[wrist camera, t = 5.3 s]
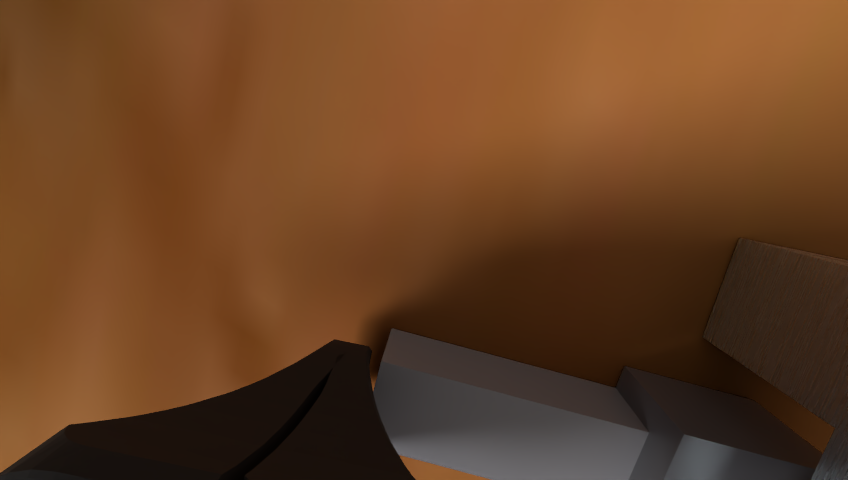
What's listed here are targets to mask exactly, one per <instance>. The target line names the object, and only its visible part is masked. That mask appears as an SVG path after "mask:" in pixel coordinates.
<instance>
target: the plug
mask: <svg viewBox="0 0 848 480" xmlns="http://www.w3.org/2000/svg"><path fill="white" fill-rule="evenodd" d="M373 395H374V398H375V402H376V406H377V409H378V412H379V415H380V418H381V420H382V423H383V425H384V428H385V430H386V432H387V434H388V437H389V439H390V441H391V443H392V444H393V446H394V448H395V450H396V451H397V453H398V455H402V456H406V457H409V458H413V459H417V460H421V461H424V462H428V463H432V464H436V465H439V466H443V467H447V468H451V469H454V470H458V471H462V472H466V473H469V474H473V475H477V476H481V477H484V478H488V479H492V480H811V478H812V476H813V474H814V472H815V470H816V468H817V465H818V463H819V461H820V459H821V457H822V455H823V454H822V453H821V452H820V451H818V450H817V449H816V448H814V447H813V446H812V445H811V444H809V443H808V442H807V441H805V440H804V439H803V438H802V437H800V436H799V435H798V434H797V433H795V432H794V431H793V430H791V429H790V428H789V427H788V426H786V425H785V424H784V423H782V422H781V421H780V420H779V419H777V418H776V417H775V416H773V415H772V414H771V413H770V412H768V411H767V410H766V409H764V408H763V407H762V406H761V405H759V404H758V403H757V402H755V401H754V400H750V399H747V398H743V397H739V396H735V395H732V394H728V393H724V392H720V391H717V390H713V389H709V388H705V387H702V386H698V385H694V384H690V383H687V382H683V381H679V380H675V379H672V378H668V377H664V376H660V375H657V374H653V373H649V372H645V371H642V370H638V369H634V368H630V367H627V366H624V369H623V371H622V374H621V376H620V379H619V381H618V383H617V386H616V388H615V387H611V386H607V385H603V384H600V383H596V382H592V381H588V380H585V379H581V378H577V377H573V376H570V375H566V374H562V373H558V372H555V371H551V370H547V369H543V368H539V367H536V366H532V365H528V364H524V363H521V362H517V361H513V360H509V359H506V358H502V357H498V356H494V355H491V354H487V353H483V352H479V351H476V350H472V349H468V348H464V347H461V346H457V345H453V344H449V343H446V342H442V341H438V340H434V339H431V338H427V337H423V336H419V335H416V334H412V333H408V332H404V331H401V330H397V329H393V328H392V329H391V332H390V335H389V338H388V342H387V345H386V348H385V351H384V354H383V357H382V361H381V364H380V368H379V372H378V376H377V380H376V383H375V387H374V391H373Z"/></svg>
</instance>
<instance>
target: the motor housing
mask: <svg viewBox="0 0 848 480" xmlns="http://www.w3.org/2000/svg"><path fill="white" fill-rule="evenodd" d="M702 337H703V338H705V339H706V340H708V341H709V342H710V343H712V344H713V345H715V346H716V347H718V348H719V349H721V350H722V351H724V352H725V353H726V354H728V355H729V356H731V357H732V358H734V359H735V360H737V361H738V362H740V363H741V364H742V365H744V366H745V367H747V368H748V369H750V370H751V371H753V372H754V373H756V374H757V375H758V376H760V377H761V378H763V379H764V380H766V381H767V382H769V383H770V384H772V385H773V386H774V387H776V388H777V389H779V390H780V391H782V392H783V393H785V394H786V395H788V396H789V397H790V398H792V399H793V400H795V401H796V402H798V403H799V404H801V405H802V406H804V407H805V408H806V409H808V410H809V411H811V412H812V413H814V414H815V415H817V416H818V417H820V418H821V419H822V420H824V421H825V422H827V423H828V424H830V425H831V426H833V427H834V428H835V430H834V432H833V434H832V436H831V438H830V440H829V442H828V444H827V446H826V449H825V451H824V453H823V455H822V457H821V459H820V461H819V463H818V465H817V468H816V470H815V472H814V474H813V476H812V478H811V480H848V260H845V259H840V258H835V257H831V256H826V255H821V254H816V253H811V252H806V251H801V250H796V249H792V248H787V247H782V246H777V245H772V244H767V243H762V242H758V241H753V240H748V239H743V238H739V240H738V243H737V245H736V248H735V251H734V253H733V256H732V259H731V262H730V264H729V267H728V270H727V272H726V275H725V278H724V280H723V283H722V286H721V288H720V291H719V294H718V296H717V299H716V302H715V304H714V307H713V310H712V312H711V315H710V318H709V320H708V323H707V326H706V328H705V331H704V334H703V336H702Z"/></svg>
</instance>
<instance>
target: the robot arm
mask: <svg viewBox="0 0 848 480" xmlns="http://www.w3.org/2000/svg"><path fill="white" fill-rule="evenodd" d="M371 353H372V350H371V349H370V347H369V346H364V345H359V344H354V343H349V342H345V341H340V340H333V341H331V342H329V343H328V344H326V345H324V346H323V347H321V348H320V349H318V350H316V351H315V352H313V353H311V354H310V355H308V356H306V357H305V358H303V359H301V360H300V361H298V362H296V363H294V364H292V365H291V366H289V367H287V368H285V369H283V370H281V371H279V372H277V373H275V374H273V375H271V376H269V377H267V378H265V379H262V380H260V381H258V382H255V383H253V384H251V385H248V386H246V387H243V388H240V389H238V390H235V391H232V392H230V393H227V394H223V395H220V396H217V397H213V398H210V399H207V400H203V401H200V402H197V403H193V404H190V405H186V406H182V407H177V408H173V409H169V410H164V411H159V412H154V413H149V414H144V415H138V416H133V417H126V418H119V419H112V420H104V421H97V422H89V423H81V424H71V425H68V426H67V427H65V428H64V429H62V430H61V431H59V432H58V433H57V434H55V435H54V436H52V437H51V438H49V439H48V440H47V441H45V442H44V443H42V444H41V445H39V446H38V447H37V448H35V449H34V450H32V451H31V452H30V453H28V454H27V455H25V456H24V457H22V458H21V459H20V460H18V461H17V462H15V463H14V464H12V465H11V466H10V467H8V468H7V469H5V470H4V471H3V472H1V473H0V480H415V478H414V477H413V476H412V475H411V474H410V472H409V471H408V469H407V468H406V466H405V465H404V463H403V462H402V460H401V458H400V456H399V455H398V453H397V451H396V450H395V448H394V446H393V444H392V443H391V441H390V439H389V437H388V434H387V432H386V430H385V428H384V425H383V423H382V420H381V418H380V415H379V412H378V409H377V406H376V402H375V398H374V395H373V390H372V384H371V378H370V369H369V364H370V359H371Z"/></svg>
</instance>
